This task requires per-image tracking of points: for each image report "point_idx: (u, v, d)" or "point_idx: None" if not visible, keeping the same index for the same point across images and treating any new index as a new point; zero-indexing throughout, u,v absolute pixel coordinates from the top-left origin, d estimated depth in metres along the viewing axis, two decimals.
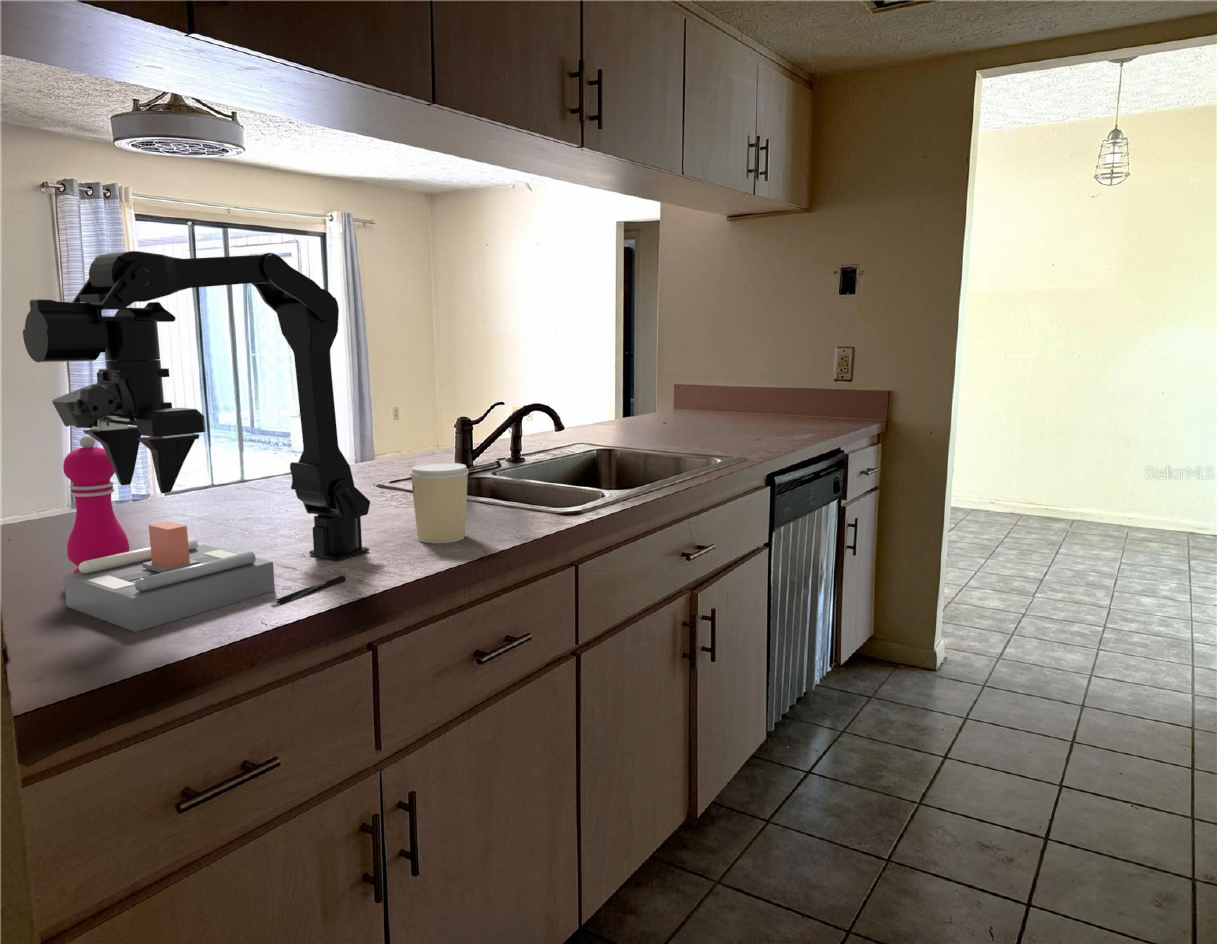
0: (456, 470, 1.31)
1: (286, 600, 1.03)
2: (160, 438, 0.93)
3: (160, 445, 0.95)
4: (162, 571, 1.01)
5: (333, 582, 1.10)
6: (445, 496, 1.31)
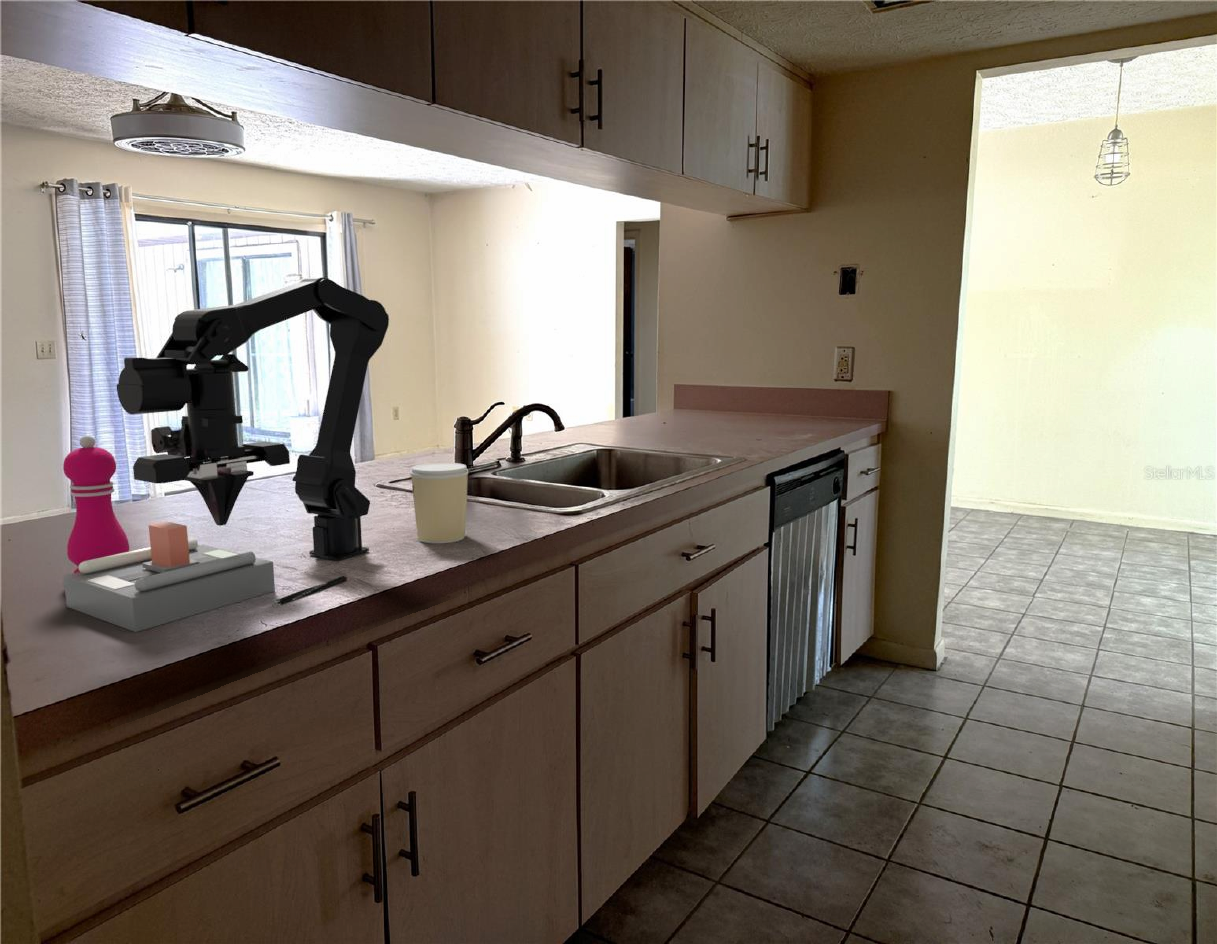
0: (456, 470, 1.31)
1: (287, 600, 1.03)
2: None
3: (196, 482, 1.07)
4: (162, 571, 1.01)
5: (334, 582, 1.10)
6: (445, 496, 1.31)
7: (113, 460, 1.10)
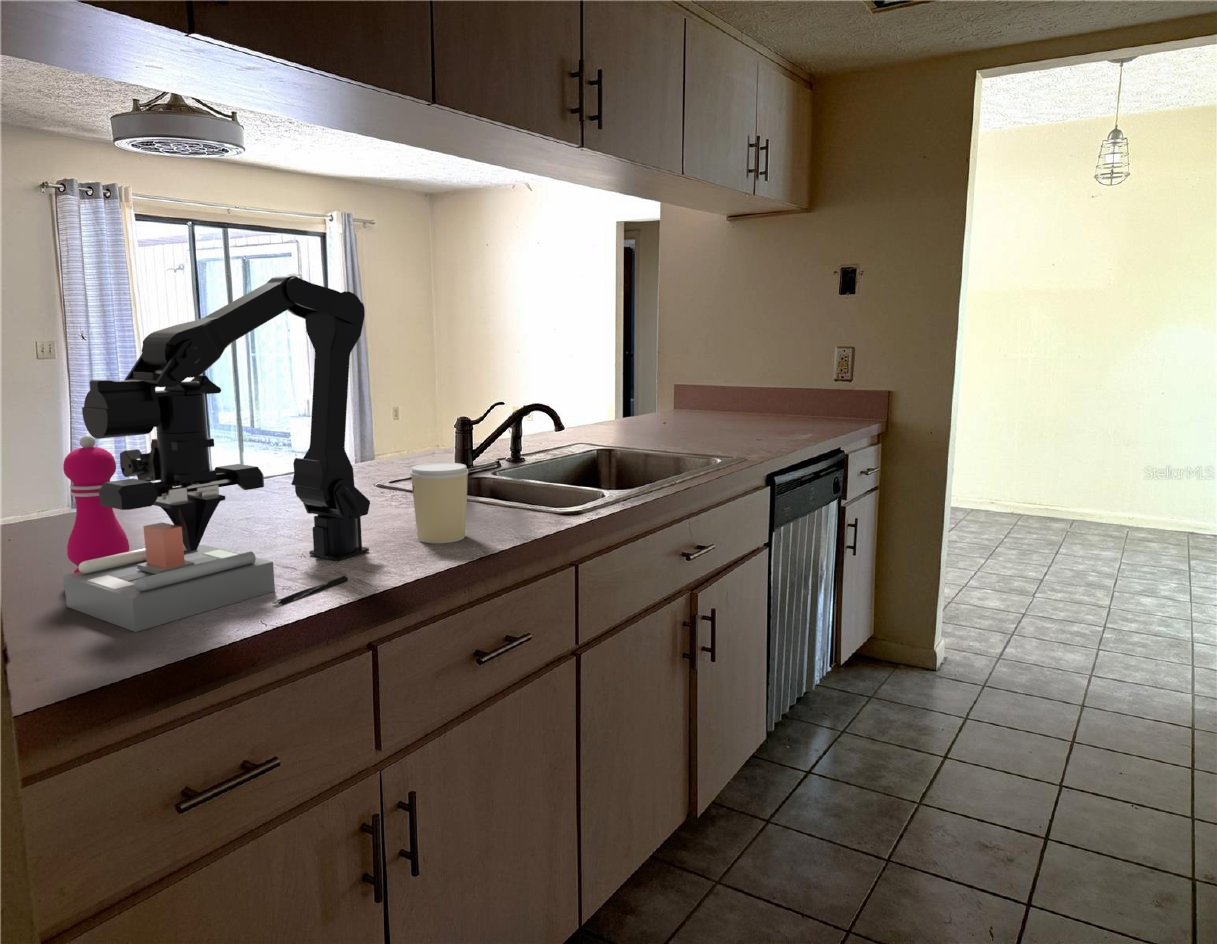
0: (456, 470, 1.31)
1: (288, 600, 1.03)
2: (154, 500, 1.03)
3: None
4: (157, 572, 1.00)
5: (335, 582, 1.10)
6: (445, 496, 1.31)
7: (113, 460, 1.10)
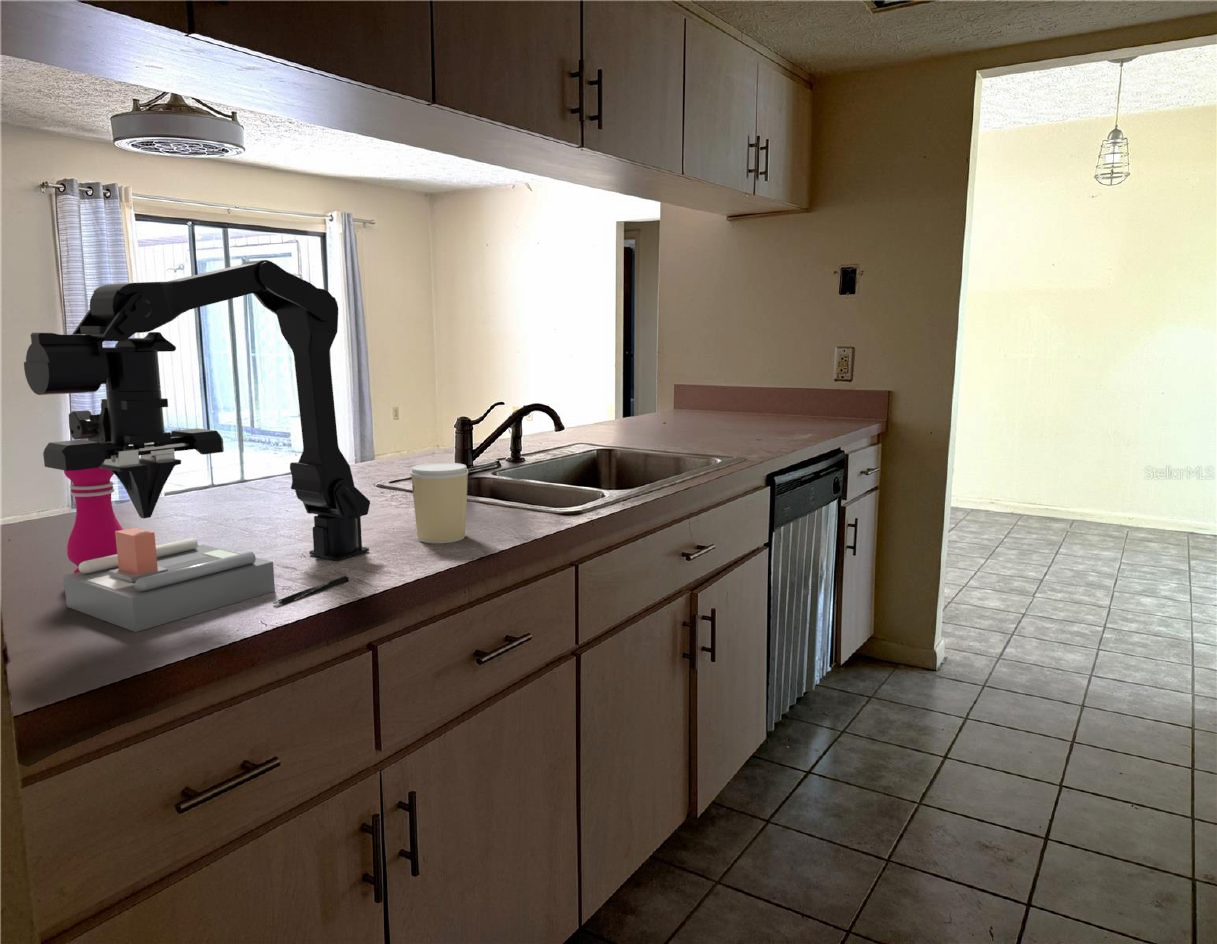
0: (456, 470, 1.31)
1: (289, 600, 1.03)
2: None
3: (117, 471, 0.98)
4: (128, 579, 0.97)
5: (336, 582, 1.10)
6: (445, 496, 1.31)
7: None
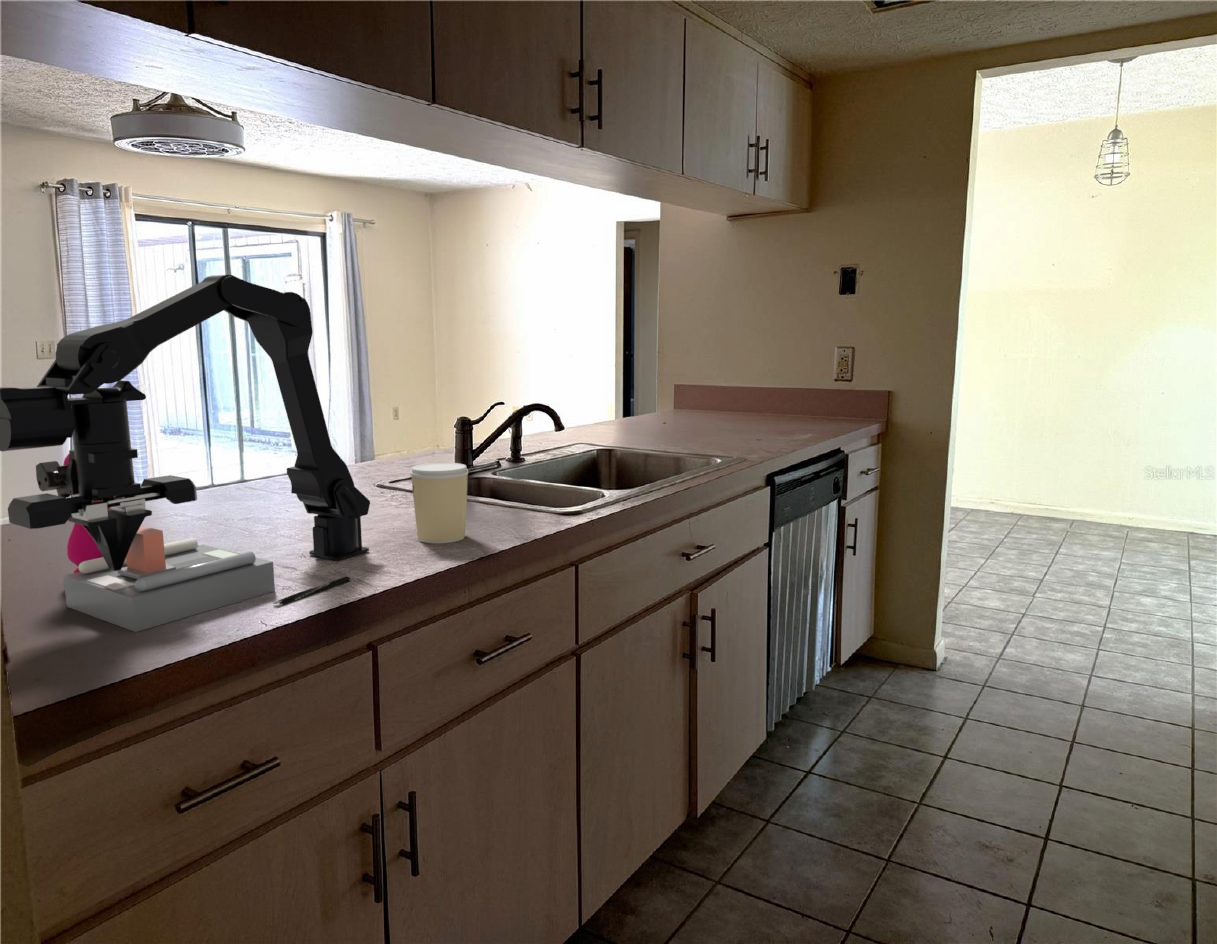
0: (456, 470, 1.31)
1: (289, 600, 1.03)
2: None
3: None
4: (137, 577, 0.98)
5: (337, 583, 1.10)
6: (445, 496, 1.31)
7: None
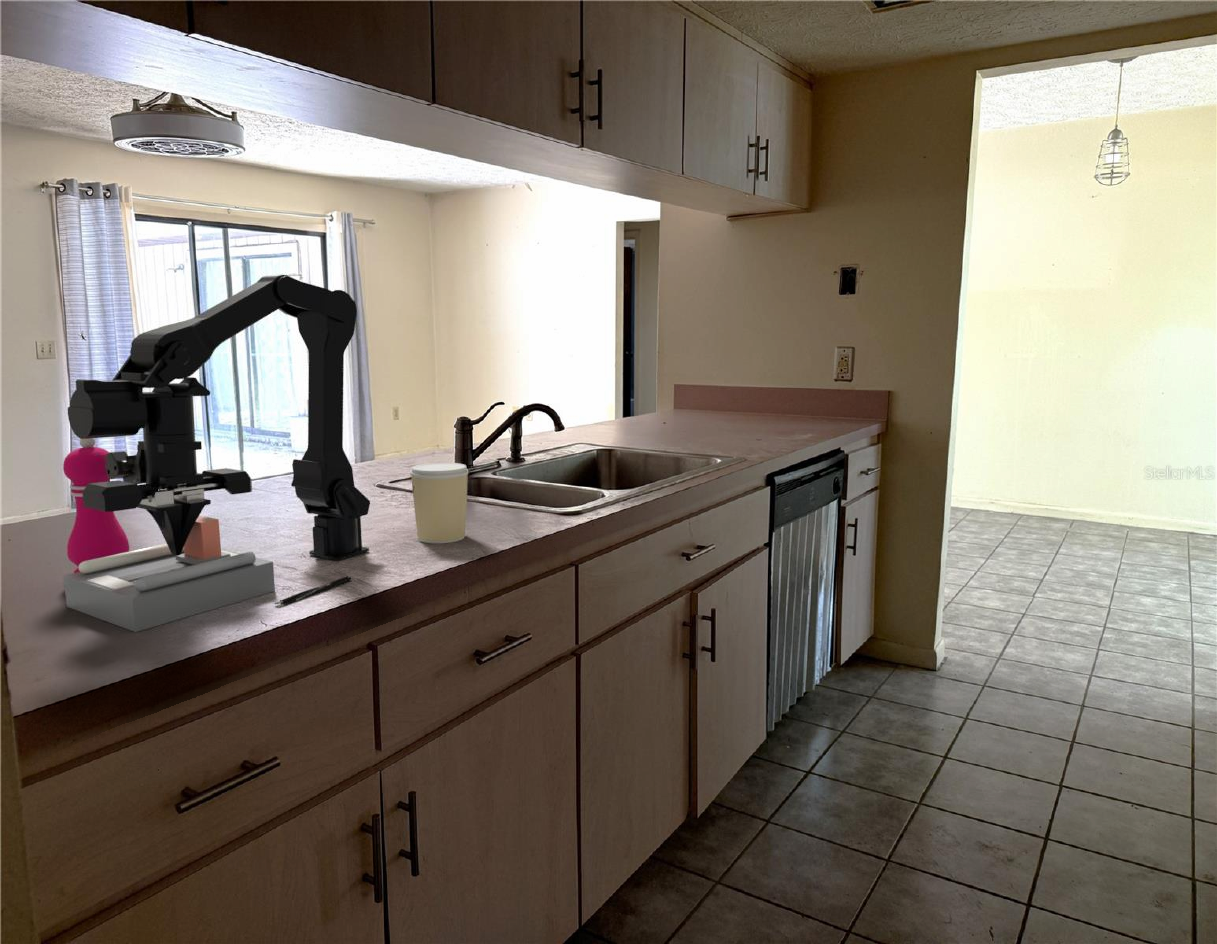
0: (456, 470, 1.31)
1: (290, 601, 1.03)
2: None
3: None
4: (195, 563, 1.04)
5: (338, 583, 1.10)
6: (445, 496, 1.31)
7: None
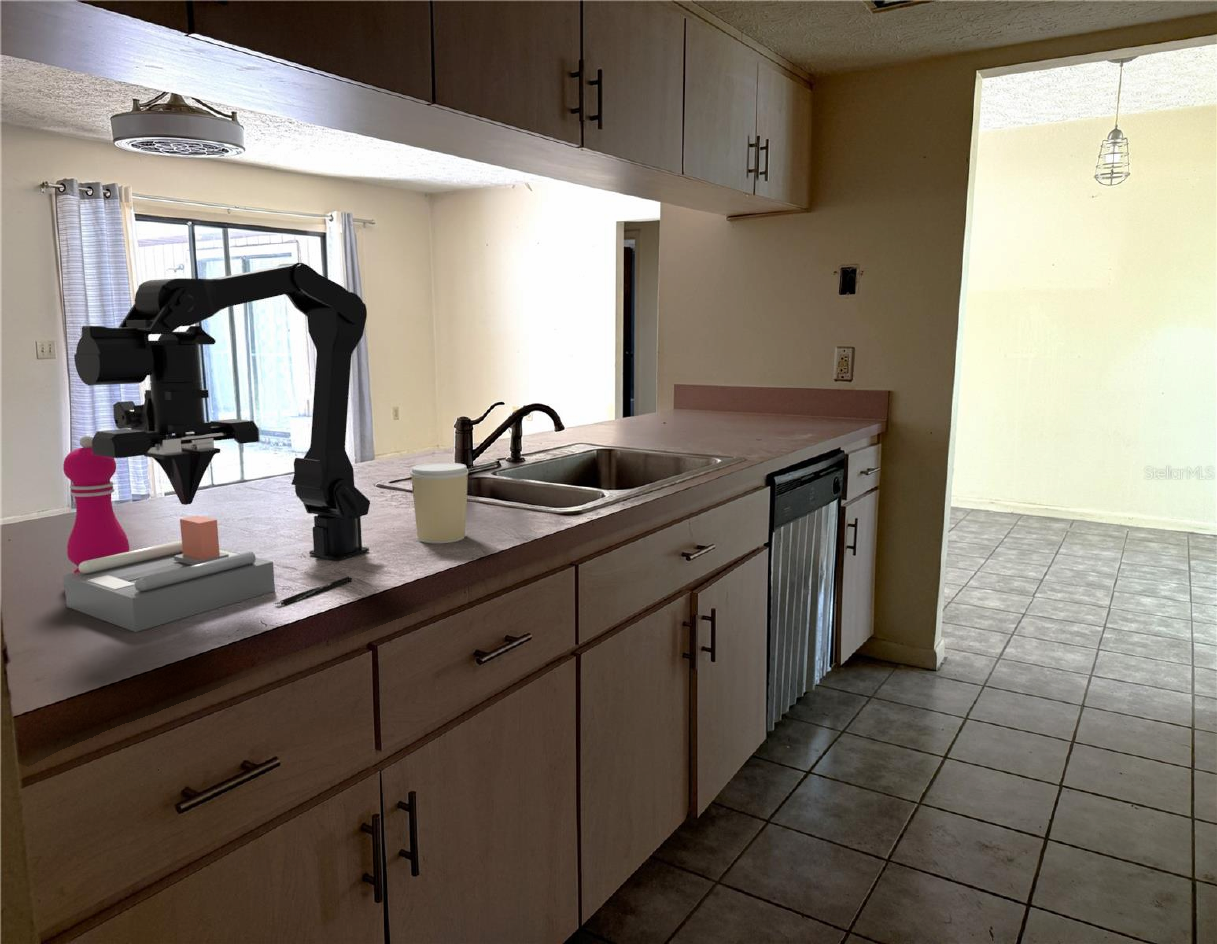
0: (456, 470, 1.31)
1: (291, 601, 1.03)
2: (148, 452, 1.02)
3: (160, 459, 1.03)
4: (194, 563, 1.04)
5: (338, 583, 1.10)
6: (445, 496, 1.31)
7: (113, 460, 1.10)
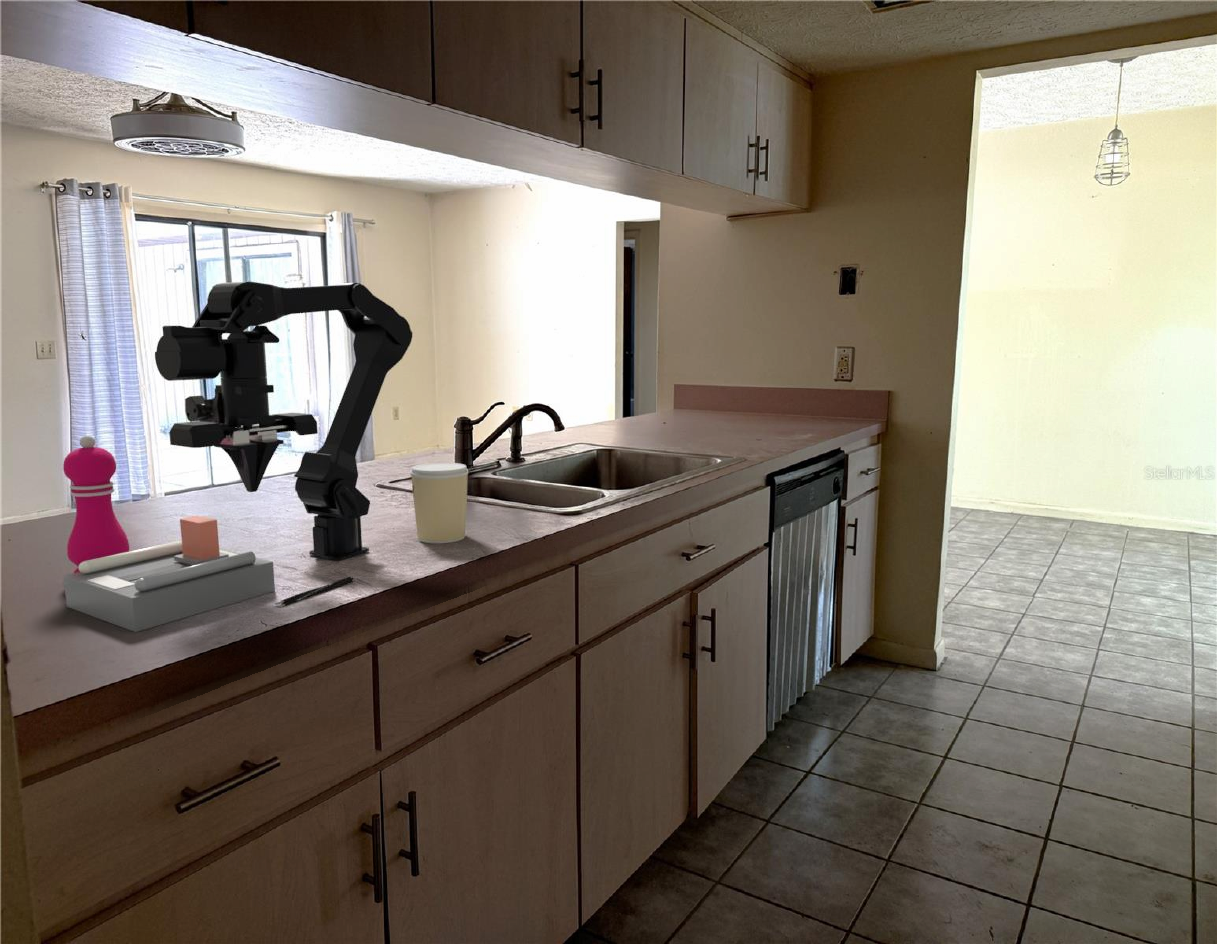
0: (456, 470, 1.31)
1: (291, 601, 1.03)
2: None
3: (229, 449, 1.10)
4: (194, 563, 1.04)
5: (340, 583, 1.10)
6: (445, 496, 1.31)
7: (113, 460, 1.10)
